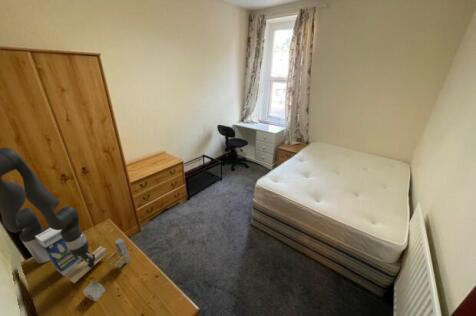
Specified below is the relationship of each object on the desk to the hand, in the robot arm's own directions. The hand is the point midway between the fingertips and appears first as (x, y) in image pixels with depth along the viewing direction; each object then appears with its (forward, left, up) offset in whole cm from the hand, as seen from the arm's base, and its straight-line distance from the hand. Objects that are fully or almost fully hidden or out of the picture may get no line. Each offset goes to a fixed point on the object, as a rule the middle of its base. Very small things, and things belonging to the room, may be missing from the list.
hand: (89, 264), depth 104 cm
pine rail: (0, 0, -1) cm, 1 cm away
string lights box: (-13, 0, -4) cm, 14 cm away
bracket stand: (+14, 0, -4) cm, 14 cm away
